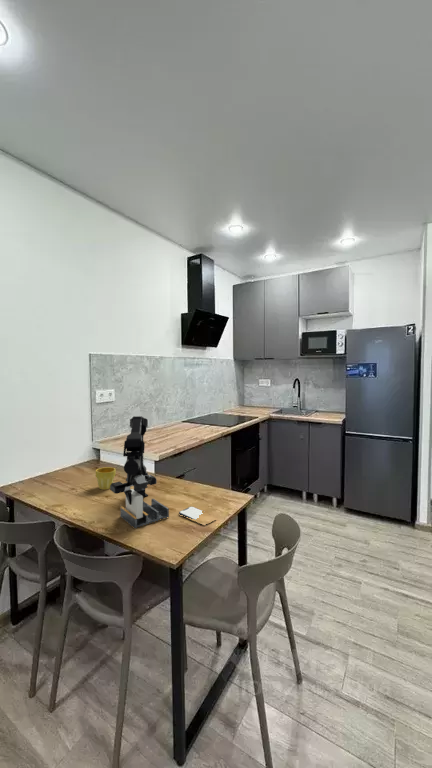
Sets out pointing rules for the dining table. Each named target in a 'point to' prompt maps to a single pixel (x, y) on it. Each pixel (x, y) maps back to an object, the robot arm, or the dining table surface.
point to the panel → (135, 504)
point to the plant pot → (105, 477)
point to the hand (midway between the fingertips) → (134, 503)
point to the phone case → (191, 512)
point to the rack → (146, 514)
